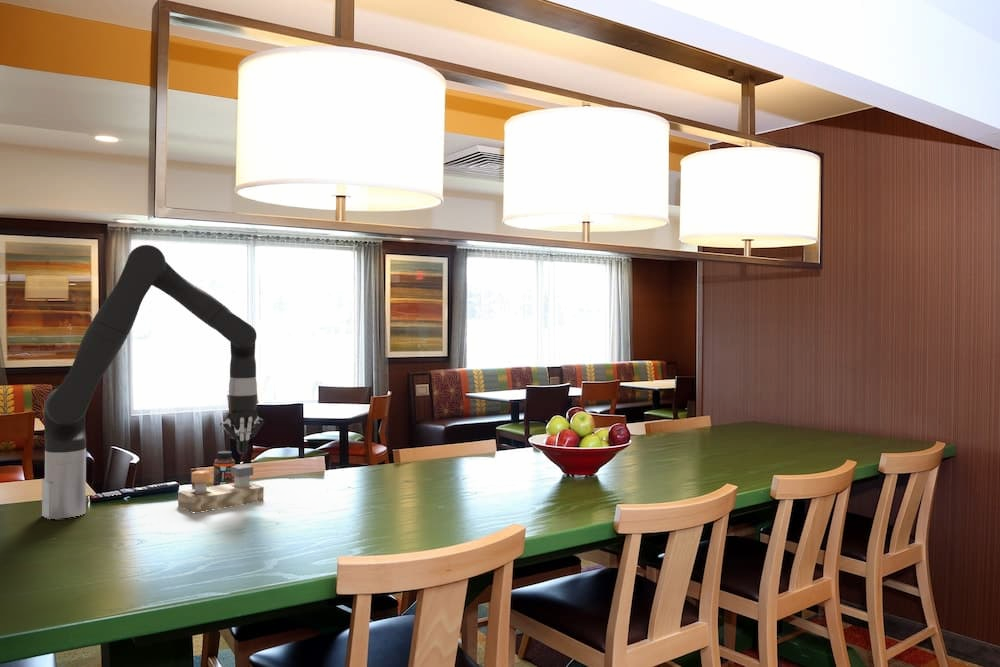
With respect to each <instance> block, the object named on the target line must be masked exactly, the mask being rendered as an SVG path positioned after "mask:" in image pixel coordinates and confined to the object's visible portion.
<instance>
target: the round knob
mask: <svg viewBox="0 0 1000 667" xmlns="http://www.w3.org/2000/svg"><path fill="white" fill-rule="evenodd" d="M210 481H211V471H209V470H195V471H192V472H191V483H192V484H193V483H194V489H195V495H196V496H197V495H203V494H207V487H208V486H207V485H208V482H210Z"/></svg>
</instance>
